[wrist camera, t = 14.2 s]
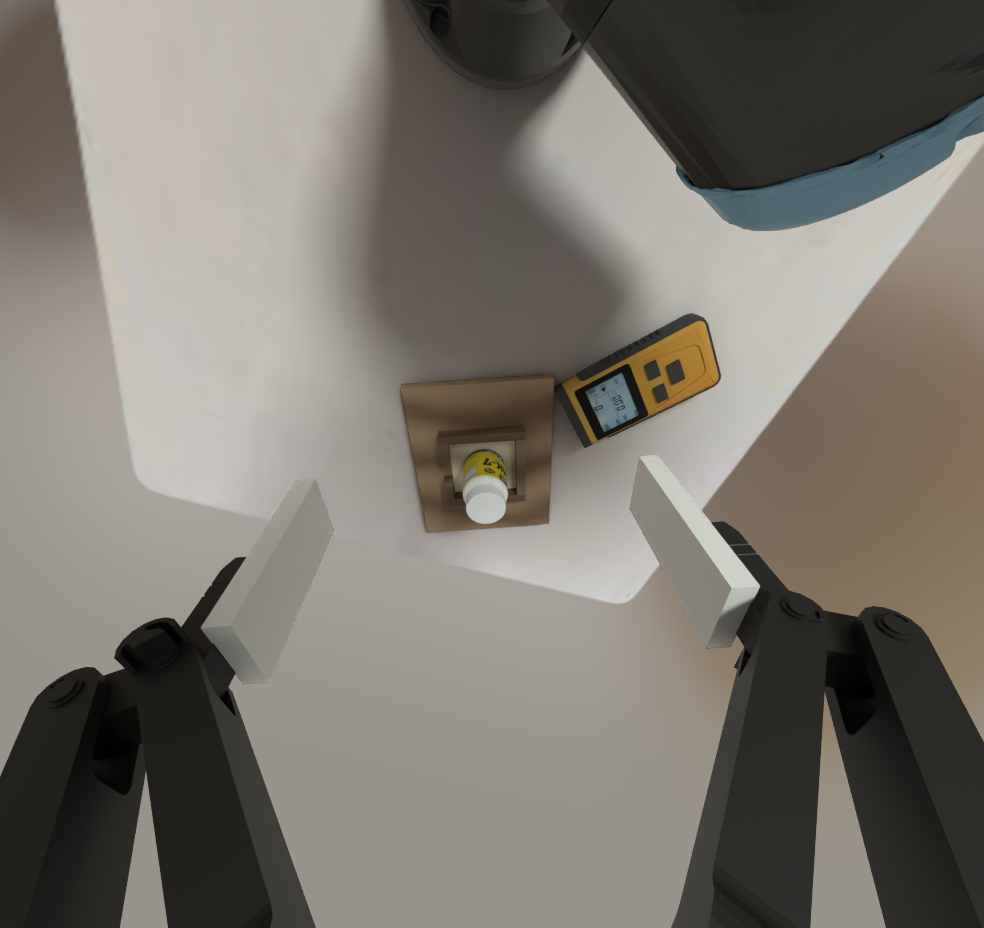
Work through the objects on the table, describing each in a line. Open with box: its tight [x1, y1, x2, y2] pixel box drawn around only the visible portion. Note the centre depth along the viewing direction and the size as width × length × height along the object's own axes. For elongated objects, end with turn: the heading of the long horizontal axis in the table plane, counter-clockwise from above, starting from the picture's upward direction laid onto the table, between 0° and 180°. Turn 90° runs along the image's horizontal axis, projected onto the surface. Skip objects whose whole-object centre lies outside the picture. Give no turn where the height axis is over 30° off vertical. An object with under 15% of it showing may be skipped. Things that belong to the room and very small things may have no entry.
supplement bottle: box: [463, 448, 508, 524], centre depth 42 cm, size 5×5×8 cm
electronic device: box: [554, 314, 721, 448], centre depth 41 cm, size 8×16×3 cm, turn 120°
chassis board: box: [400, 374, 554, 532], centre depth 46 cm, size 20×16×3 cm
